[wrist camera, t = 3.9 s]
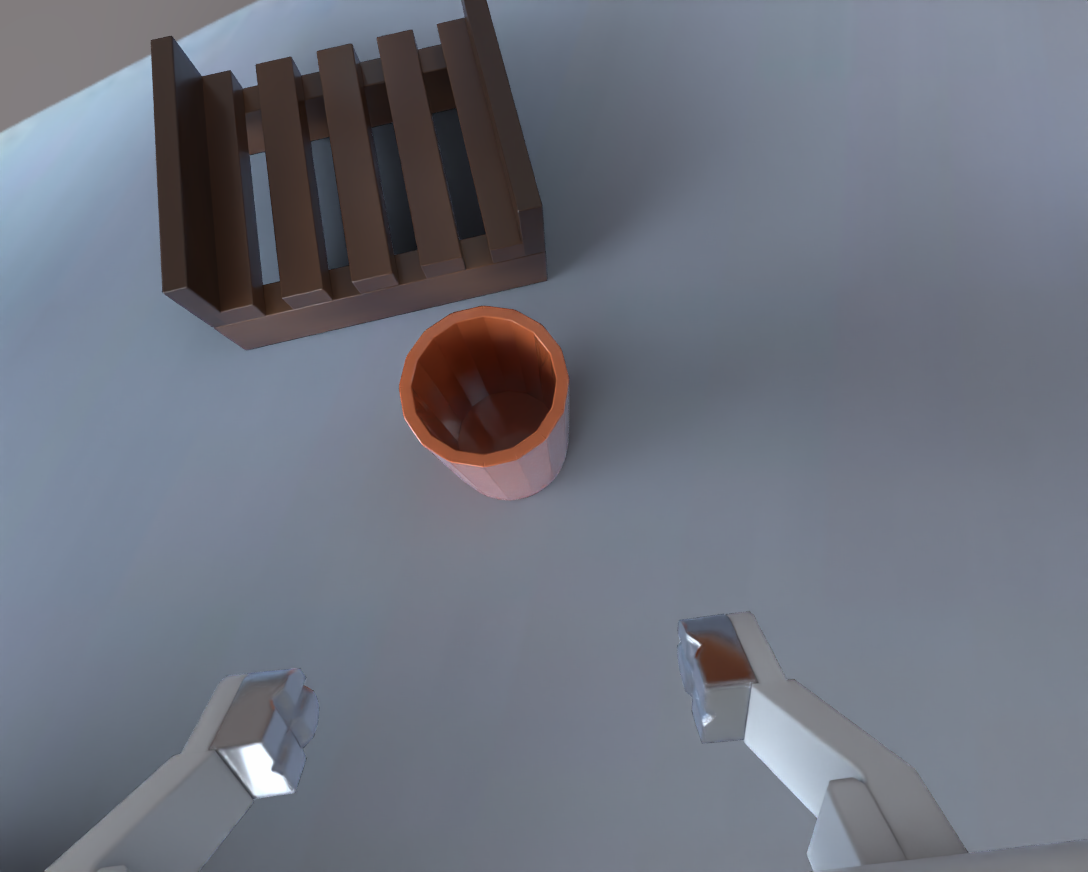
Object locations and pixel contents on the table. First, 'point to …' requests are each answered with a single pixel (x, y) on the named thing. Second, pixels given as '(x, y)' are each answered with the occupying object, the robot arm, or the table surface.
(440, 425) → the cup
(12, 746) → the table surface
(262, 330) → the rack
